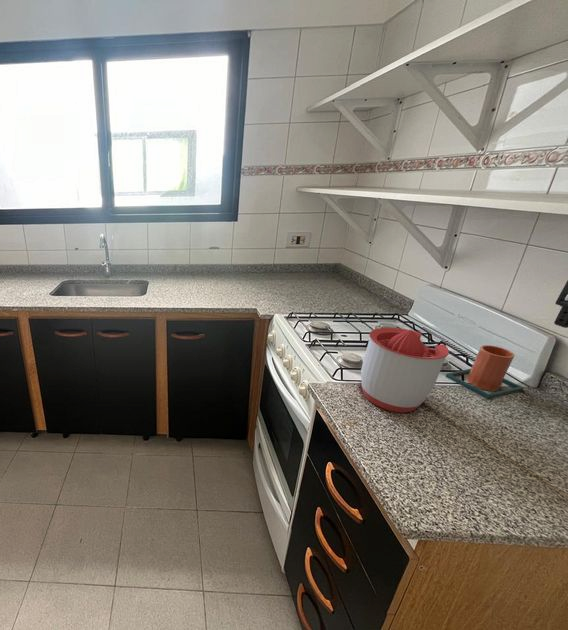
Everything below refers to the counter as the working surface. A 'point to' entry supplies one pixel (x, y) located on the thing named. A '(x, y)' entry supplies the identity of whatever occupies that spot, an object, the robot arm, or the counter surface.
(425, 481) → the counter surface
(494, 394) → the frame
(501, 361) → the tumbler
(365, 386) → the citrus juicer
